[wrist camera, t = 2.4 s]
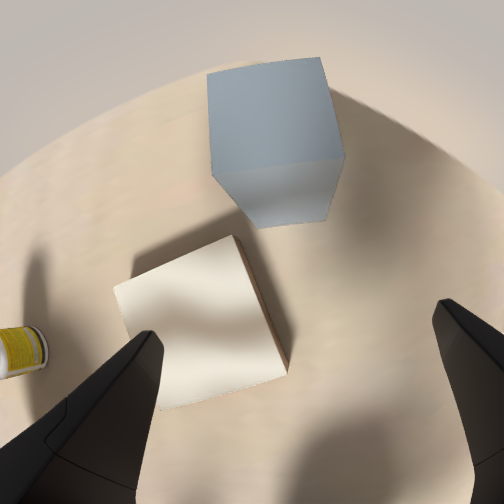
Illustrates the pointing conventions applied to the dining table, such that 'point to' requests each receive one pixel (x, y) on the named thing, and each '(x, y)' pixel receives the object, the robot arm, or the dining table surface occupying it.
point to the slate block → (275, 140)
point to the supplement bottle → (21, 351)
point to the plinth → (204, 324)
